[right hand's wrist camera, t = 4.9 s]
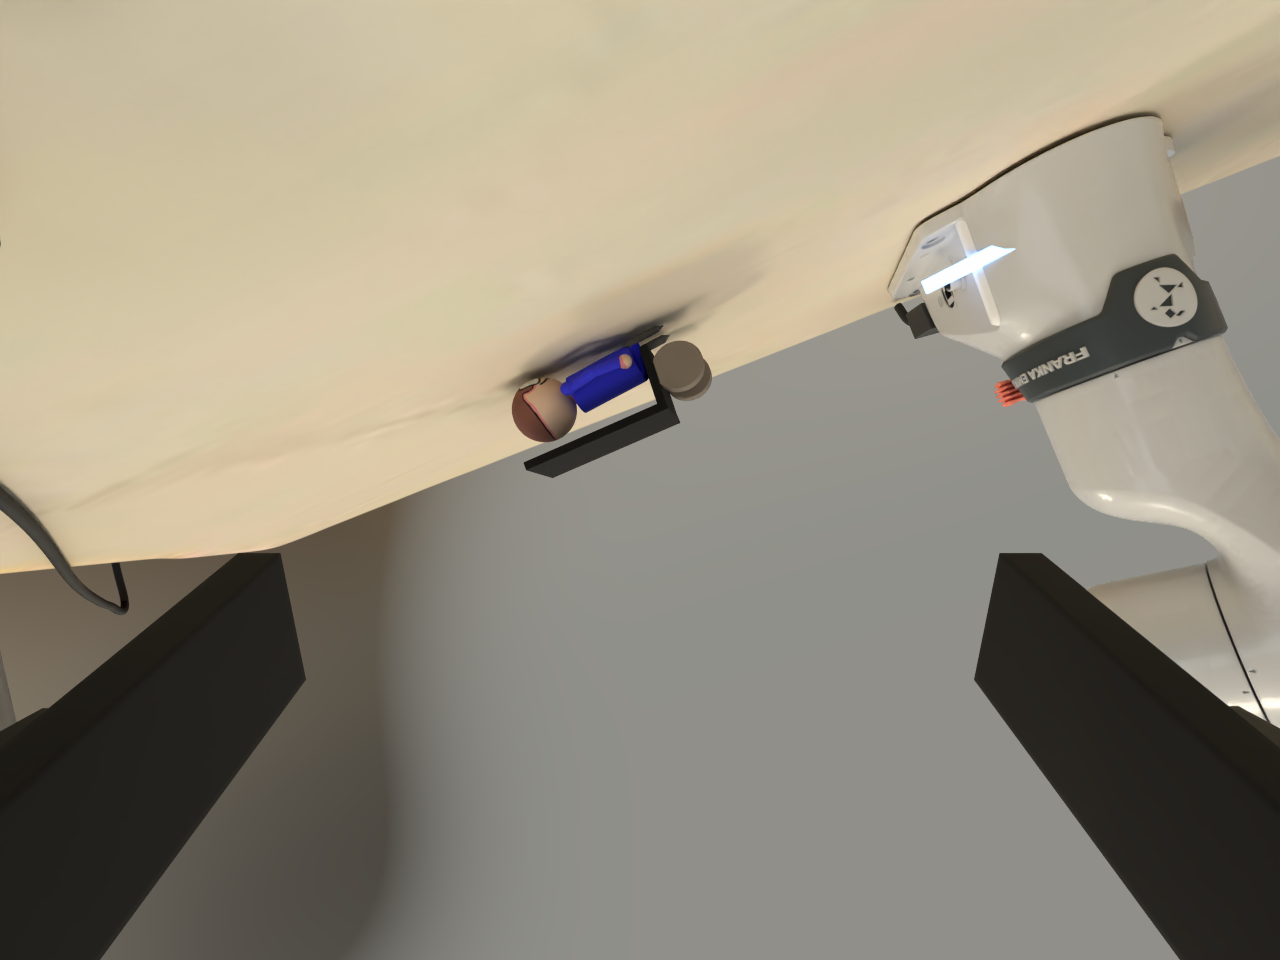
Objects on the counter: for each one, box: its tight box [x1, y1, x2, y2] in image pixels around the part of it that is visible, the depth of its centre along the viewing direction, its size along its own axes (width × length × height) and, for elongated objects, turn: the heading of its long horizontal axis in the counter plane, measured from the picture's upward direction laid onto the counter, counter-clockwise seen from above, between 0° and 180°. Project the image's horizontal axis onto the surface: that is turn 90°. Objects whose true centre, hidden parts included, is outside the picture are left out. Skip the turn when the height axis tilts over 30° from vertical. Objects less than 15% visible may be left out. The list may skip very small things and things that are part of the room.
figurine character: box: [512, 325, 712, 478], centre depth 52 cm, size 7×8×15 cm
